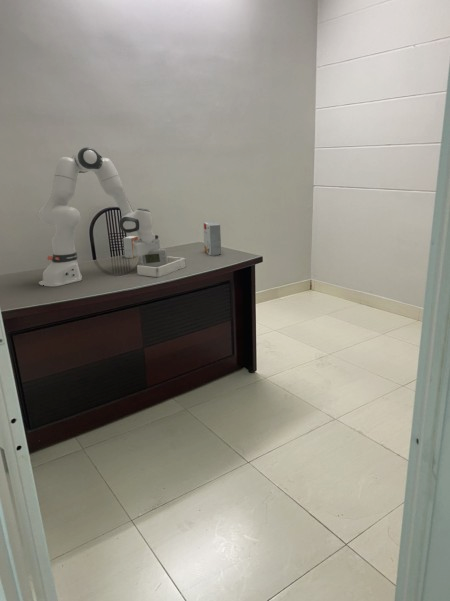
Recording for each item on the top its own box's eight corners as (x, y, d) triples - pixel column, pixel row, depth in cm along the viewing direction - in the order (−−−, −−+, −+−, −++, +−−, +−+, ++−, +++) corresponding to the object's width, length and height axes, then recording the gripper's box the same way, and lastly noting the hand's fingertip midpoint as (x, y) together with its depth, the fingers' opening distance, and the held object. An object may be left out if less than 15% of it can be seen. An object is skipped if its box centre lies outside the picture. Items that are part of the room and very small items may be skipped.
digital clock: (140, 271, 240) (139, 252, 237) (140, 267, 249) (138, 249, 245) (169, 269, 244) (168, 250, 240) (167, 265, 252) (166, 247, 249)
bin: (158, 277, 227) (157, 268, 225) (137, 274, 234) (137, 265, 232) (186, 266, 249) (185, 258, 247) (166, 264, 255) (166, 256, 254)
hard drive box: (204, 251, 289) (203, 222, 283) (215, 250, 291) (214, 221, 285) (210, 256, 275) (209, 225, 269) (221, 255, 277) (220, 224, 271)
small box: (133, 258, 275) (131, 238, 270) (124, 257, 277) (122, 237, 273) (139, 255, 282) (137, 236, 278) (131, 255, 284) (129, 235, 280)
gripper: (137, 241, 231) (140, 265, 235) (160, 235, 248) (162, 258, 252) (129, 240, 234) (131, 264, 238) (152, 234, 251) (154, 257, 255)
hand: (147, 261), depth 245 cm, fingers open, 8 cm apart
